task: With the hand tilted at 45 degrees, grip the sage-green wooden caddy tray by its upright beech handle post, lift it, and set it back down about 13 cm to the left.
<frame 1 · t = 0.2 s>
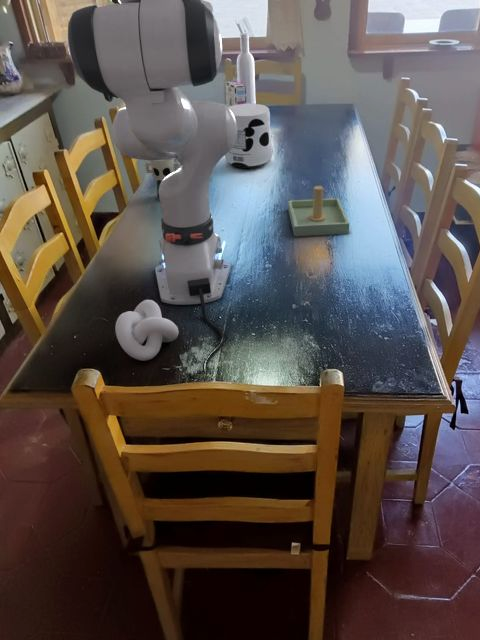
hand: (180, 76, 124), 39 cm above the table, tool pointing down, fingers open, 8 cm apart
character mug: (167, 198, 166), on the table
white trefoil knot: (153, 348, 107), on the table
candy bar box: (237, 126, 222), on the table
milk container: (249, 163, 188), on the table
caddy tray: (317, 221, 150), on the table
bottle: (247, 108, 242), on the table
beer can: (194, 180, 177), on the table
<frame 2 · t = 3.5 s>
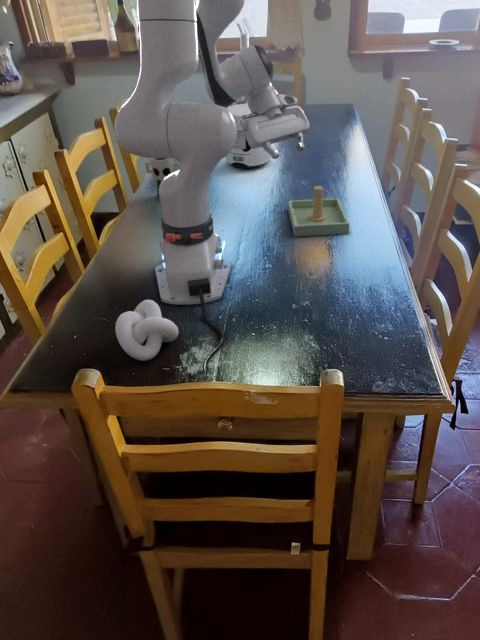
hand: (289, 153, 148), 16 cm above the table, tool tilted 45°, fingers open, 8 cm apart
nothing on the table moved.
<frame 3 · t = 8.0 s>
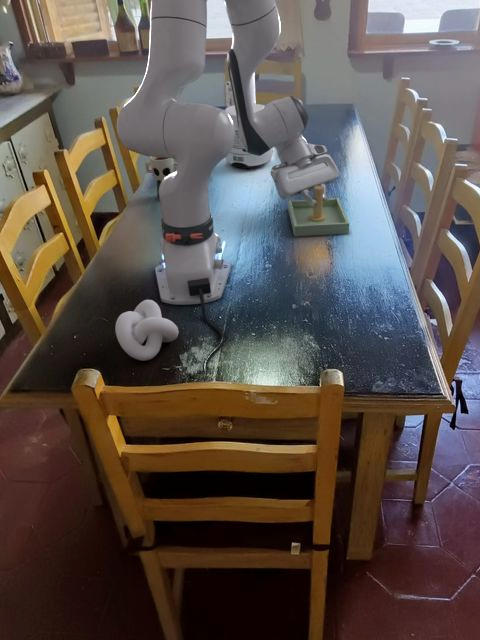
hand: (319, 203, 146), 6 cm above the table, tool tilted 45°, fingers closed on caddy tray, 2 cm apart
caddy tray: (317, 221, 150), on the table, touching gripper
everything else where it was.
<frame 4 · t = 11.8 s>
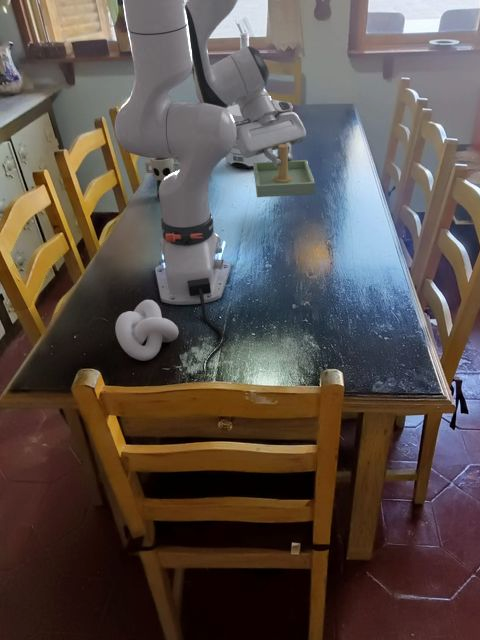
hand: (284, 163, 138), 17 cm above the table, tool tilted 45°, fingers closed on caddy tray, 2 cm apart
caddy tray: (282, 183, 142), point 12 cm above the table, touching gripper
everything else where it was.
when the fingers open (5 cm above the table, at t = 15.7 s): caddy tray stays where it is, on the table.
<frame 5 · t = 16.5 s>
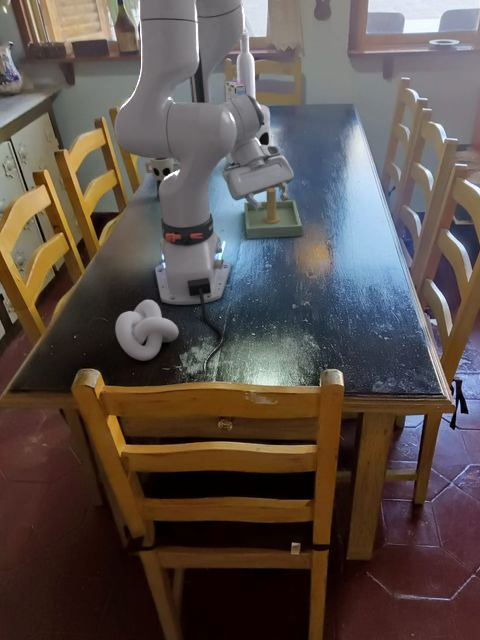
hand: (273, 204, 145), 6 cm above the table, tool tilted 45°, fingers open, 8 cm apart
caddy tray: (271, 223, 150), on the table
everything else where it was.
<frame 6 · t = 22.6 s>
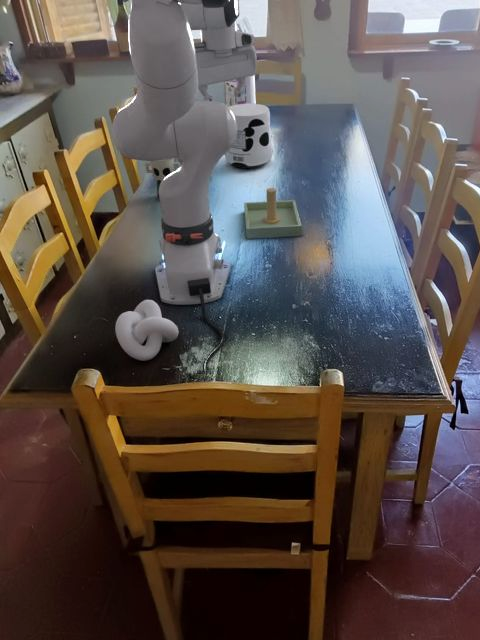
hand: (223, 100, 137), 31 cm above the table, tool pointing down, fingers open, 8 cm apart
nothing on the table moved.
at the end: caddy tray 0.1 cm from the target spot, on the table; caddy tray tilted 0°; the gripper is holding nothing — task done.
